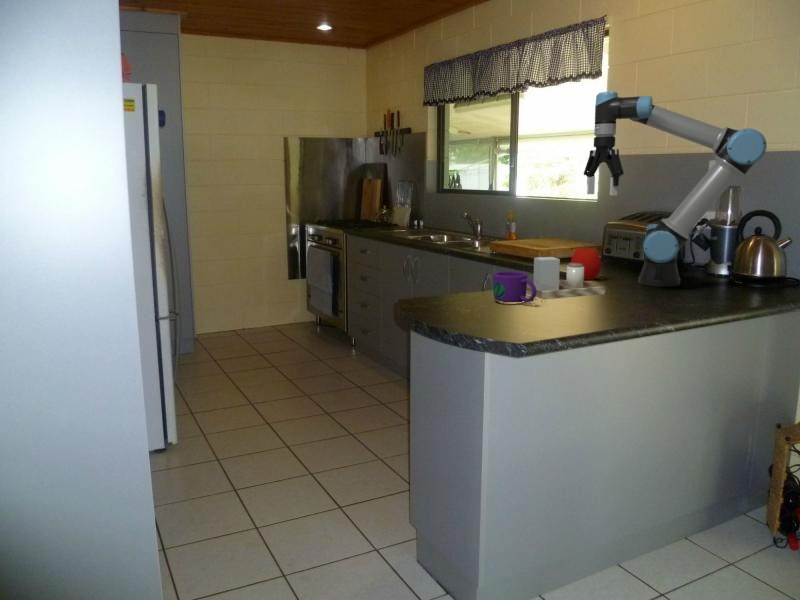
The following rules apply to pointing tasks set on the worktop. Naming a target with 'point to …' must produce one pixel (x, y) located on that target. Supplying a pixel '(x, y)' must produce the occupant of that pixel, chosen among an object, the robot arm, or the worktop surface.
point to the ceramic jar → (575, 275)
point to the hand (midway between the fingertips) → (601, 194)
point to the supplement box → (546, 273)
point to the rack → (568, 291)
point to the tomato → (588, 262)
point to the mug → (512, 286)
